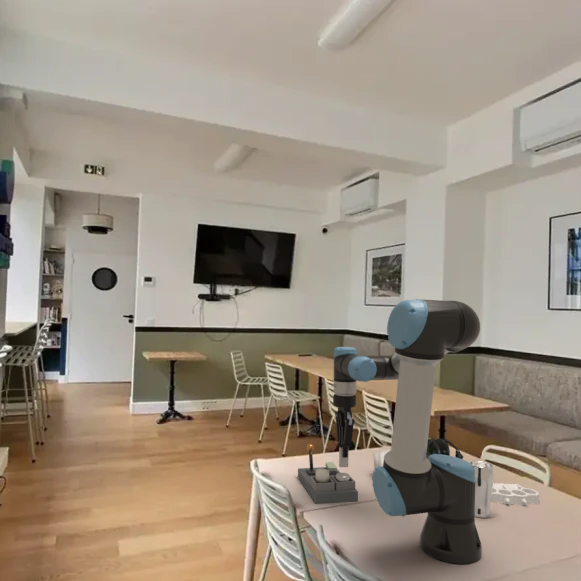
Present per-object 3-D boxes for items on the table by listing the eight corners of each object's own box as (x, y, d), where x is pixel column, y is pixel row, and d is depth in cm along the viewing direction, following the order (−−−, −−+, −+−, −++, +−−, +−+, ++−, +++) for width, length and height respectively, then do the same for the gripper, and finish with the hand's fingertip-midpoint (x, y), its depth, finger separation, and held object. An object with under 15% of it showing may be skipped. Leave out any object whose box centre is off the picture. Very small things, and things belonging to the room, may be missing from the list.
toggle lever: (316, 470, 170) (314, 443, 173) (309, 470, 169) (307, 443, 172) (314, 470, 172) (312, 443, 175) (307, 471, 171) (305, 444, 175)
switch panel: (357, 501, 155) (358, 483, 155) (315, 503, 152) (316, 486, 152) (334, 474, 178) (335, 459, 179) (297, 476, 175) (298, 461, 175)
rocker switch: (336, 471, 170) (336, 467, 170) (328, 471, 169) (329, 468, 169) (332, 465, 174) (333, 462, 174) (325, 465, 174) (325, 462, 173)
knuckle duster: (525, 491, 168) (546, 509, 153) (473, 489, 168) (488, 507, 154) (525, 481, 168) (546, 498, 153) (473, 479, 169) (488, 496, 154)
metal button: (351, 486, 157) (351, 476, 158) (338, 487, 157) (338, 477, 157) (346, 481, 162) (346, 472, 162) (334, 482, 161) (334, 472, 161)
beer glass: (478, 519, 143) (478, 468, 144) (463, 510, 150) (464, 461, 151) (498, 517, 145) (498, 467, 146) (483, 508, 152) (483, 459, 152)
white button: (330, 482, 156) (330, 473, 156) (317, 483, 155) (317, 473, 155) (326, 477, 160) (327, 468, 160) (313, 478, 159) (314, 469, 159)
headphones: (408, 444, 201) (431, 468, 181) (431, 422, 201) (457, 443, 182) (426, 465, 204) (451, 490, 184) (449, 443, 205) (476, 466, 185)
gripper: (328, 391, 166) (326, 461, 164) (340, 397, 153) (338, 473, 152) (348, 390, 167) (347, 460, 166) (362, 397, 154) (361, 472, 153)
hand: (343, 466), depth 159 cm, fingers closed
